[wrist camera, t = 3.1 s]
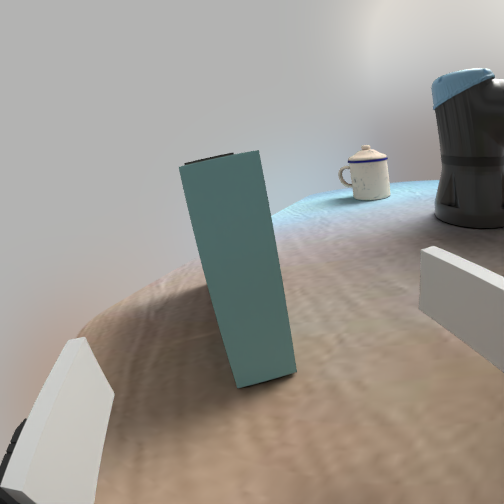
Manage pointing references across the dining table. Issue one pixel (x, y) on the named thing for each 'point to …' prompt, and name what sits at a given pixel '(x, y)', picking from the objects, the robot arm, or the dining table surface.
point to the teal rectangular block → (241, 264)
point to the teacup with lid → (368, 175)
